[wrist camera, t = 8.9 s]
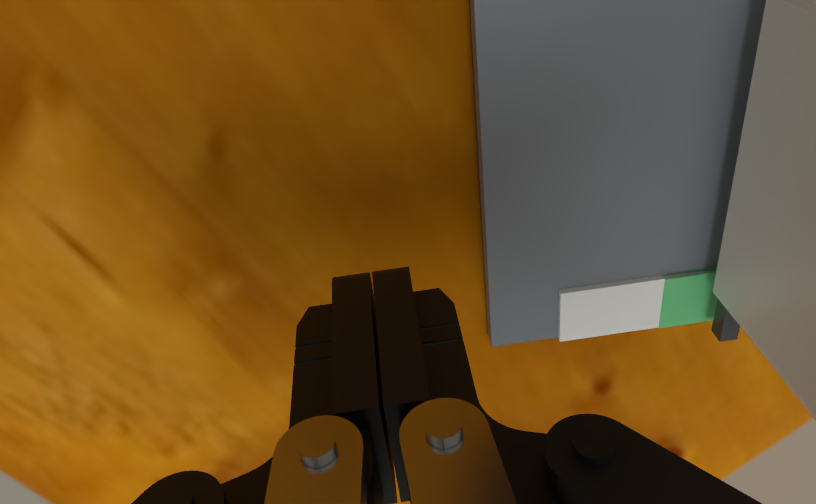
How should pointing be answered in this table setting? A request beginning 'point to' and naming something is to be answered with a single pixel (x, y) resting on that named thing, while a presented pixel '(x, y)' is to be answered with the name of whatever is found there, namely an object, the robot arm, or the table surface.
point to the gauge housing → (606, 159)
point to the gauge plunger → (776, 205)
